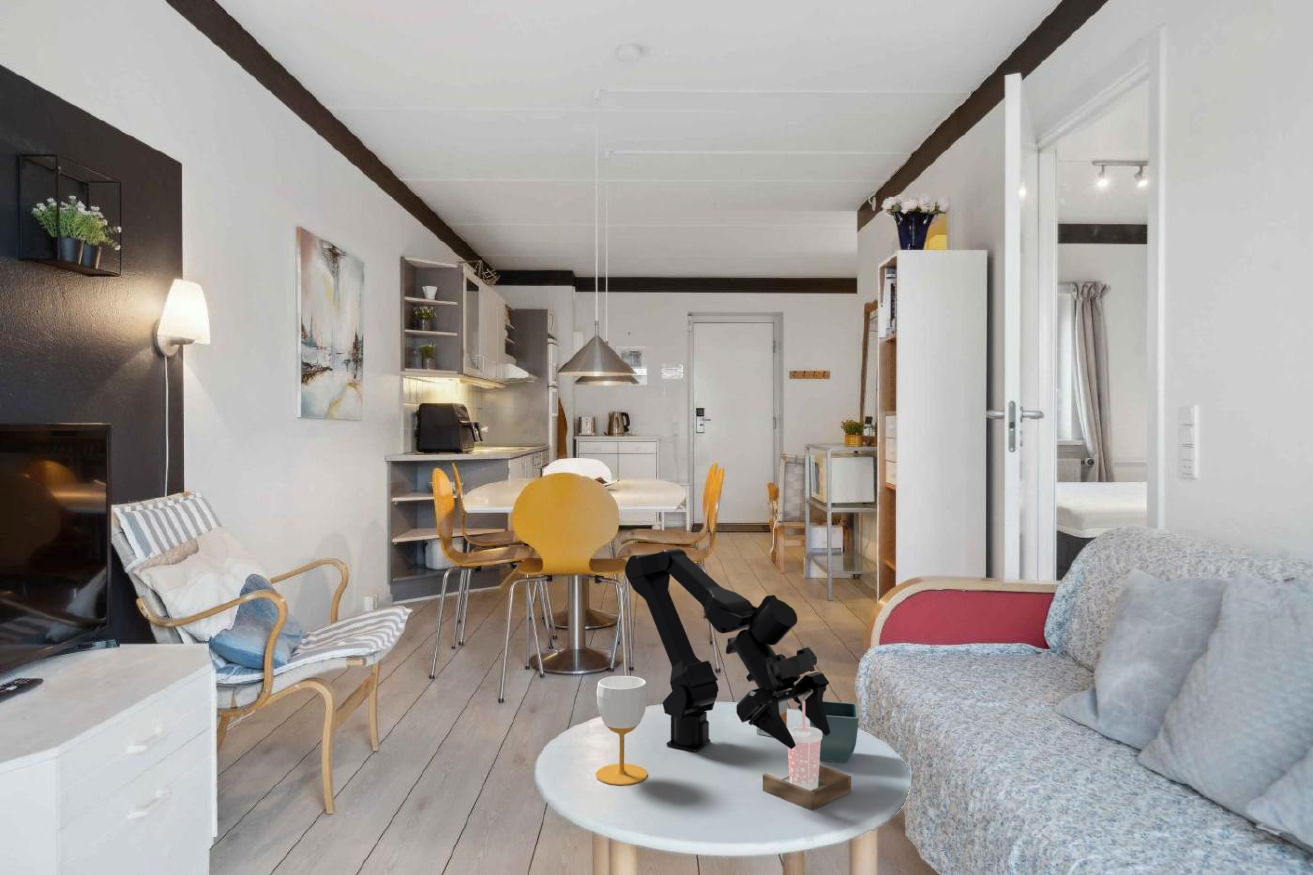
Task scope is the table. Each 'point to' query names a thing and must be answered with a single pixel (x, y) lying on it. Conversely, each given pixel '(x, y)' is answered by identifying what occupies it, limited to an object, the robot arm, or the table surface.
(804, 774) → the beverage cup
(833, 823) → the table surface
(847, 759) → the flower pot
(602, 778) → the cup
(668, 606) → the robot arm
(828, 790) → the wooden tray
